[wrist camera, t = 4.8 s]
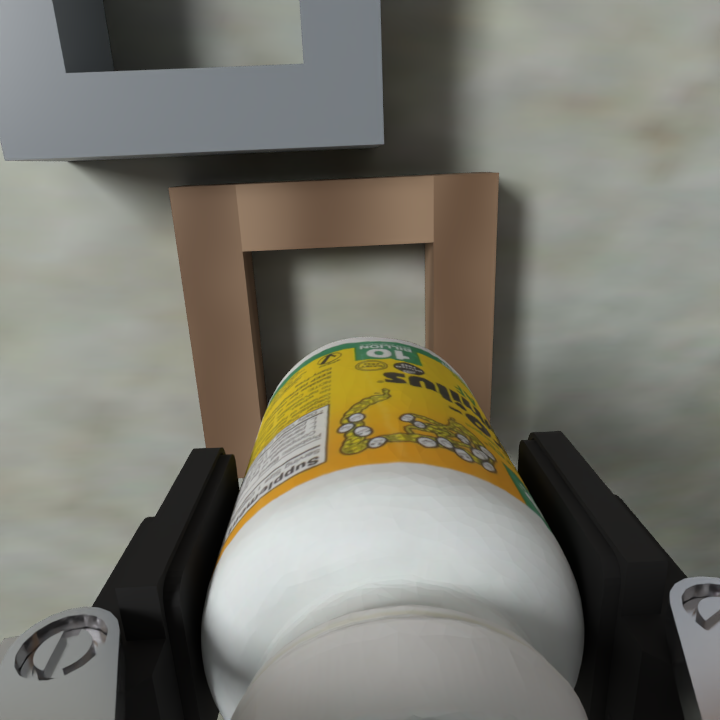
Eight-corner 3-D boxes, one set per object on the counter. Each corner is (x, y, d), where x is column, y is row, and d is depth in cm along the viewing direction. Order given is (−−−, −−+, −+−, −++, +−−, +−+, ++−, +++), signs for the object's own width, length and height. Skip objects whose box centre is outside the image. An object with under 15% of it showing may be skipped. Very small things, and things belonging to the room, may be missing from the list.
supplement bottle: (221, 434, 14) (-2, 889, 5) (371, 283, 13) (422, 524, 4) (373, 559, 16) (408, 1104, 6) (522, 430, 14) (818, 867, 5)
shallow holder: (484, 172, 21) (498, 172, 19) (476, 440, 25) (488, 463, 23) (183, 185, 21) (168, 187, 19) (220, 455, 24) (210, 479, 22)
